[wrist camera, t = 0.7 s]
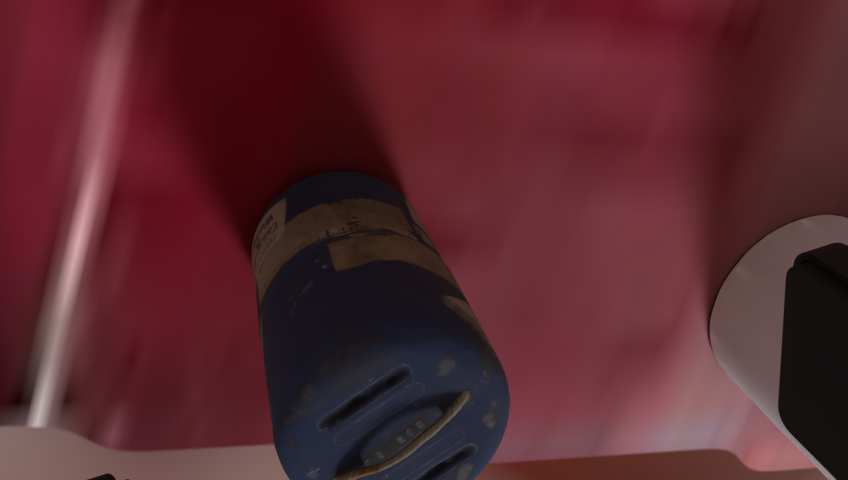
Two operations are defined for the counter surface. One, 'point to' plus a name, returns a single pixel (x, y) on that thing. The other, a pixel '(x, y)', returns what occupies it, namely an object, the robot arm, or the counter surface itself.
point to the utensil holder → (765, 311)
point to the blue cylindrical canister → (370, 340)
